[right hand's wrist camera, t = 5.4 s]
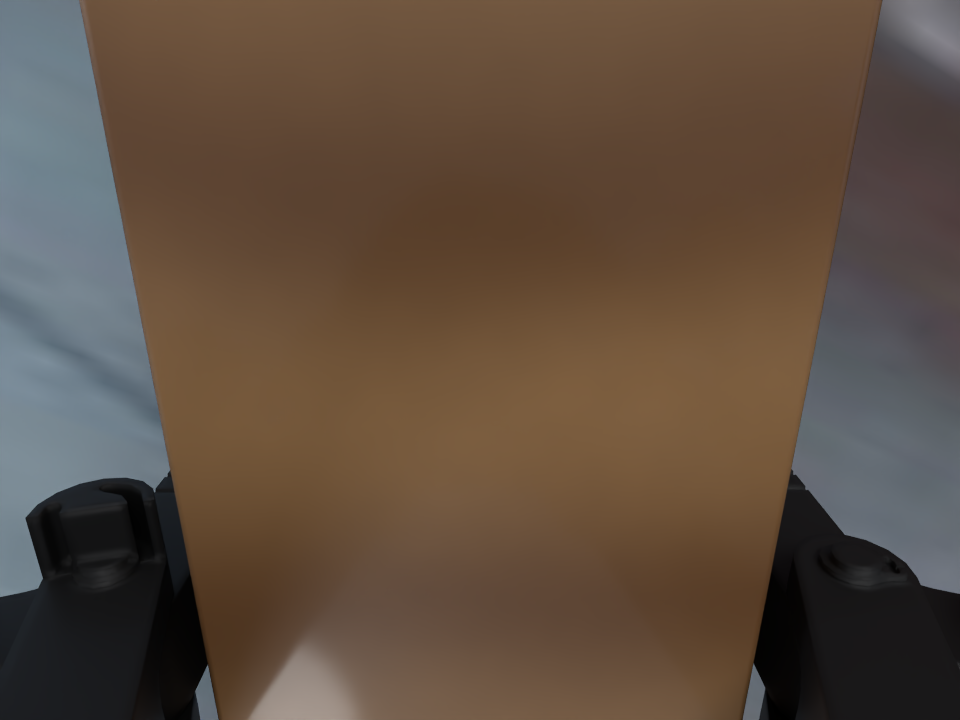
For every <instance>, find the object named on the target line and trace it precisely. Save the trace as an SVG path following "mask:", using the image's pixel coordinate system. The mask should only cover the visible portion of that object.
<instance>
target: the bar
mask: <svg viewBox="0 0 960 720" xmlns="http://www.w3.org/2000/svg"><path fill="white" fill-rule="evenodd" d="M79 1H80V7H81V12H82V17H83V22H84V27H85V32H86V38H87V43H88V48H89V53H90V58H91V63H92V69H93V74H94V79H95V84H96V89H97V94H98V99H99V105H100V110H101V115H102V120H103V125H104V130H105V136H106V141H107V146H108V151H109V156H110V161H111V167H112V172H113V177H114V182H115V187H116V192H117V197H118V203H119V208H120V213H121V218H122V223H123V228H124V234H125V239H126V244H127V249H128V254H129V259H130V265H131V270H132V275H133V280H134V285H135V290H136V295H137V301H138V306H139V311H140V316H141V321H142V326H143V332H144V337H145V342H146V347H147V352H148V357H149V363H150V368H151V373H152V378H153V383H154V388H155V393H156V399H157V404H158V409H159V414H160V419H161V424H162V430H163V435H164V440H165V445H166V450H167V455H168V460H169V466H170V471H171V476H172V481H173V486H174V491H175V497H176V502H177V507H178V512H179V517H180V522H181V528H182V533H183V538H184V543H185V548H186V553H187V558H188V564H189V569H190V574H191V579H192V584H193V589H194V595H195V600H196V605H197V610H198V615H199V620H200V626H201V631H202V636H203V641H204V646H205V651H206V656H207V662H208V667H209V672H210V677H211V682H212V687H213V693H214V698H215V703H216V708H217V713H218V718H219V720H742V719H743V714H744V709H745V703H746V698H747V693H748V688H749V683H750V678H751V673H752V667H753V662H754V657H755V652H756V647H757V642H758V637H759V631H760V626H761V621H762V616H763V611H764V606H765V601H766V596H767V590H768V585H769V580H770V575H771V570H772V565H773V560H774V554H775V549H776V544H777V539H778V534H779V529H780V524H781V518H782V513H783V508H784V503H785V498H786V493H787V488H788V482H789V477H790V472H791V467H792V462H793V457H794V452H795V446H796V441H797V436H798V431H799V426H800V421H801V416H802V410H803V405H804V400H805V395H806V390H807V385H808V380H809V374H810V369H811V364H812V359H813V354H814V349H815V344H816V338H817V333H818V328H819V323H820V318H821V313H822V308H823V302H824V297H825V292H826V287H827V282H828V277H829V272H830V266H831V261H832V256H833V251H834V246H835V241H836V236H837V231H838V225H839V220H840V215H841V210H842V205H843V200H844V195H845V189H846V184H847V179H848V174H849V169H850V164H851V159H852V153H853V148H854V143H855V138H856V133H857V128H858V123H859V117H860V112H861V107H862V102H863V97H864V92H865V87H866V81H867V76H868V71H869V66H870V61H871V56H872V51H873V45H874V40H875V35H876V30H877V25H878V20H879V15H880V9H881V4H882V0H79Z"/></svg>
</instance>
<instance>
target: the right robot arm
mask: <svg viewBox="0 0 960 720" xmlns="http://www.w3.org/2000/svg"><path fill="white" fill-rule="evenodd" d="M26 522H27V525H28V529H29V532H30V535H31V539H32V542H33V546H34V549H35V552H36V556H37V559H38V563H39V566H40V569H41V573H42V576H43V580H42V582H41V584H40V586H39V588H38V589H35V590H31V591H28V592H23V593H18V594H14V595H9V596H4V597H0V720H200V715H199V709H198V703H197V698H196V693H195V690H196V688H197V686H198V684H199V682H200V680H201V678H202V675H203V673H204V671H205V669H206V667H207V665H208V662H207V656H206V651H205V646H204V641H203V636H202V631H201V626H200V620H199V615H198V610H197V605H196V600H195V595H194V589H193V584H192V579H191V574H190V569H189V564H188V558H187V553H186V548H185V543H184V538H183V533H182V528H181V522H180V517H179V512H178V507H177V502H176V497H175V491H174V486H173V481H172V476H171V471H169V473H168V477H165V478H164V479H163V480H162V481H161V483H160V484H159V485H158V486H157V488H156V492H155V493H154V491H153V488H151V487H150V486H149V485H147V484H146V483H145V482H143V481H139V480H134V479H129V478H109V479H100V480H96V481H91V482H86V483H82V484H78V485H76V486H73V487H71V488H68V489H66V490H63V491H60V492H58V493H56V494H54V495H53V496H51V497H49V498H48V499H46V500H44V501H43V502H41V503H40V504H38V505H37V506H36V507H35V508H34V509H33V510H32V511H31V512H30V513H29V515H28V516H27V517H26ZM753 663H754V665H755V667H756V669H757V671H758V673H759V675H760V677H761V680H762V682H763V684H764V686H765V688H766V689H765V693H764V698H763V703H762V708H761V713H760V718H759V720H960V594H957V593H952V592H947V591H942V590H937V589H933V588H929V587H925V586H921V585H920V583H919V580H918V578H917V577H916V575H915V574H914V573H913V571H912V570H911V569H910V568H909V566H908V565H907V564H906V563H905V562H904V561H902V560H901V559H900V558H898V557H897V556H895V555H894V554H893V553H891V552H890V551H889V550H887V549H884V548H882V547H880V546H878V545H876V544H873V543H871V542H869V541H867V540H863V539H859V538H855V537H851V536H847V535H844V533H843V532H842V531H841V530H840V529H839V527H838V526H837V525H836V524H835V522H834V521H833V520H832V519H831V517H830V516H829V515H828V514H827V513H826V511H825V510H824V509H823V508H822V506H821V505H820V504H819V503H818V501H817V500H816V499H815V498H814V496H813V495H812V494H811V493H810V492H809V490H805V485H804V484H803V483H802V482H801V480H800V479H799V478H798V477H797V476H796V475H793V471H792V469H791V472H790V477H789V482H788V488H787V493H786V498H785V503H784V508H783V513H782V518H781V524H780V529H779V534H778V539H777V544H776V549H775V554H774V560H773V565H772V570H771V575H770V580H769V585H768V590H767V596H766V601H765V606H764V611H763V616H762V621H761V626H760V631H759V637H758V642H757V647H756V652H755V657H754V662H753Z"/></svg>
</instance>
